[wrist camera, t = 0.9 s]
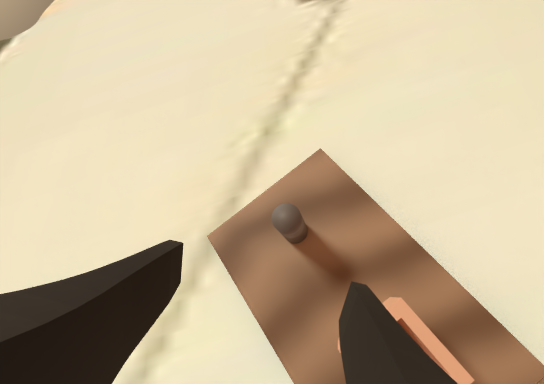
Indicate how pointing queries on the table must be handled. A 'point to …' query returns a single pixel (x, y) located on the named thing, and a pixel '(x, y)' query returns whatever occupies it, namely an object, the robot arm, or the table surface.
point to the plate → (350, 278)
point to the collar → (425, 339)
